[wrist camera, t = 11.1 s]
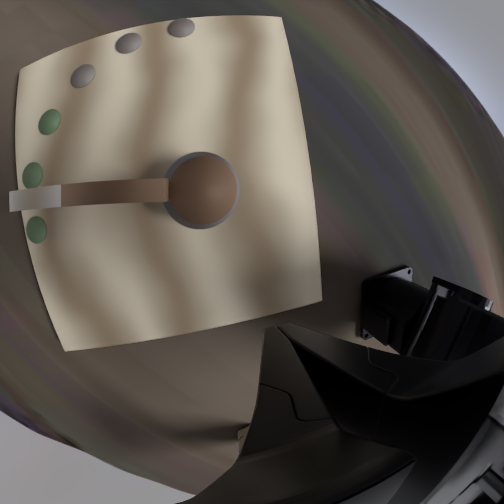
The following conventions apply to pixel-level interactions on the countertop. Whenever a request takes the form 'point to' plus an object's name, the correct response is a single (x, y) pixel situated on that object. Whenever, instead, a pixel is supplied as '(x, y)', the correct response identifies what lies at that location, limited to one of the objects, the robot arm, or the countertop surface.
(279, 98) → the board
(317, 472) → the robot arm
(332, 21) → the countertop surface
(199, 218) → the peg
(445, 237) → the countertop surface
